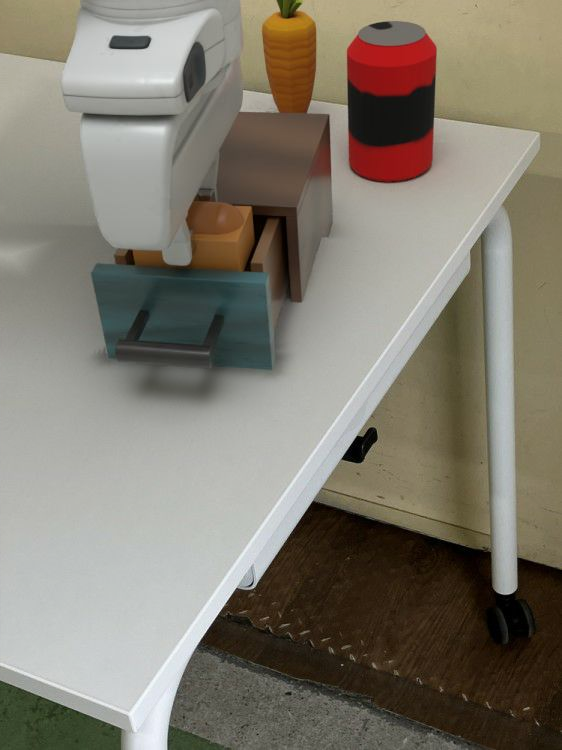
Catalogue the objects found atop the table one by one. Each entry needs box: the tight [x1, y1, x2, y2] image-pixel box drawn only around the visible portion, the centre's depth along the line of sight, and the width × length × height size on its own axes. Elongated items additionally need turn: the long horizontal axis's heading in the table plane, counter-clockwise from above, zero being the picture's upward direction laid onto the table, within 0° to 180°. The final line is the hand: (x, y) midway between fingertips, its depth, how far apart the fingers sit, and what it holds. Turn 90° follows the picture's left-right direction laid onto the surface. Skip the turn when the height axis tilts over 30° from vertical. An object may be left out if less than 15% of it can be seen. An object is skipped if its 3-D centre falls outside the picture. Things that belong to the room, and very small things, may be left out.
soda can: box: [346, 20, 438, 183], centre depth 88 cm, size 8×8×12 cm
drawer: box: [90, 215, 290, 371], centre depth 69 cm, size 18×11×8 cm, turn 169°
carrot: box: [261, 0, 317, 113], centre depth 93 cm, size 5×5×15 cm
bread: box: [133, 201, 255, 271], centre depth 65 cm, size 7×4×4 cm, turn 79°
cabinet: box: [216, 111, 334, 303], centre depth 77 cm, size 15×13×10 cm
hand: (192, 235), depth 66 cm, fingers closed on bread, 4 cm apart
